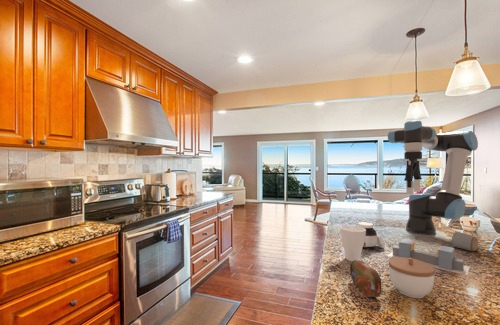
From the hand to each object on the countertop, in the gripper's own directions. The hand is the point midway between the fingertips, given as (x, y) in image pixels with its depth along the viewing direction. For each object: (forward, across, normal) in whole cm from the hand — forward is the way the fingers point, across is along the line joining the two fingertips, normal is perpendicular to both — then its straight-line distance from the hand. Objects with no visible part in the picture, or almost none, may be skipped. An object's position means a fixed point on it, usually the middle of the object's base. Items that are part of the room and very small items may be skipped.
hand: (413, 193), depth 125 cm
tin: (+27, +63, 0) cm, 69 cm away
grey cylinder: (+27, -13, +19) cm, 35 cm away
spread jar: (+27, +18, -15) cm, 36 cm away
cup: (+27, +40, -14) cm, 50 cm away
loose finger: (+26, +22, +2) cm, 34 cm away
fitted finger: (+26, +22, +16) cm, 38 cm away
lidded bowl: (+27, +54, +11) cm, 61 cm away
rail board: (+27, +21, +9) cm, 35 cm away
